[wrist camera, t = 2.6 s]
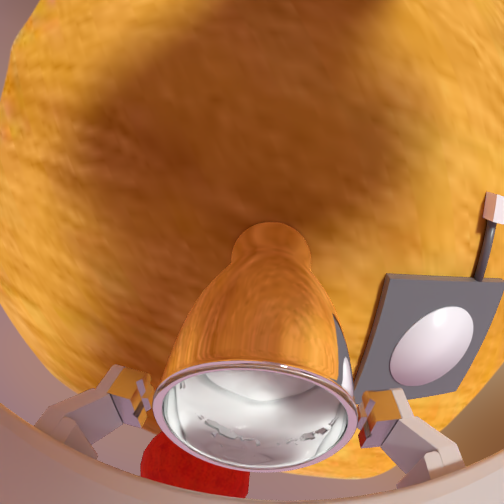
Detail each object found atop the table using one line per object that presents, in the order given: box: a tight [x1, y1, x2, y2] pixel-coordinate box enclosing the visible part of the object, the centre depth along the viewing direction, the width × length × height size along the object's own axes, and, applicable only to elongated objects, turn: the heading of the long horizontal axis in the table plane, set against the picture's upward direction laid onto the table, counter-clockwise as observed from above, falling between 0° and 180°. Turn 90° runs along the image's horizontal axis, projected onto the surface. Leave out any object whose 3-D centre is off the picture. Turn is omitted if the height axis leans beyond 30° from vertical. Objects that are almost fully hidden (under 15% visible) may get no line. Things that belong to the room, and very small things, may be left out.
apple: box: [141, 431, 250, 498], centre depth 23 cm, size 12×12×13 cm
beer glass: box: [152, 222, 358, 472], centre depth 14 cm, size 7×7×15 cm
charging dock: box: [353, 192, 504, 404], centre depth 21 cm, size 23×15×2 cm, turn 178°
